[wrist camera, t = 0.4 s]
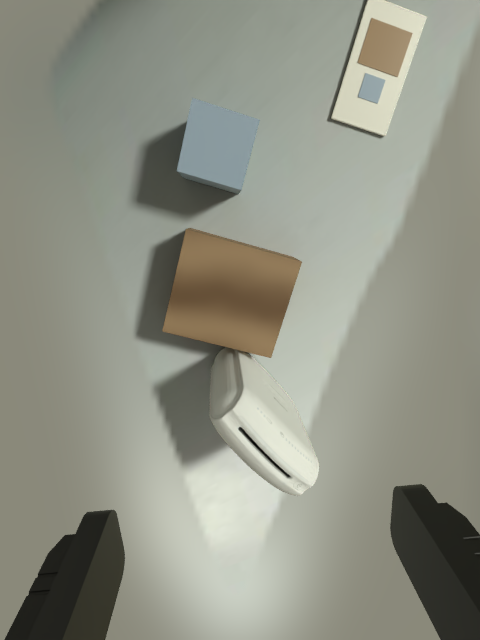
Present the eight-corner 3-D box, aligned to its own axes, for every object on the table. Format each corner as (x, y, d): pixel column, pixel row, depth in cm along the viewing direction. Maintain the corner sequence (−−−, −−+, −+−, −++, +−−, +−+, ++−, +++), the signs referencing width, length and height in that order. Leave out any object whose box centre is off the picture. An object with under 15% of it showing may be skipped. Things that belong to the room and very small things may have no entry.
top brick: (196, 116, 30) (192, 97, 25) (253, 134, 31) (259, 119, 26) (183, 177, 31) (176, 170, 27) (238, 194, 32) (241, 190, 27)
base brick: (190, 227, 33) (185, 229, 29) (292, 256, 34) (302, 261, 30) (168, 318, 35) (162, 331, 31) (265, 343, 36) (270, 357, 32)
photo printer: (300, 403, 38) (336, 487, 26) (269, 427, 39) (291, 520, 27) (236, 335, 36) (244, 394, 24) (204, 362, 36) (197, 433, 24)
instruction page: (368, -4, 28) (370, -6, 28) (425, 18, 29) (427, 16, 29) (330, 118, 31) (331, 117, 30) (384, 136, 31) (385, 135, 31)
